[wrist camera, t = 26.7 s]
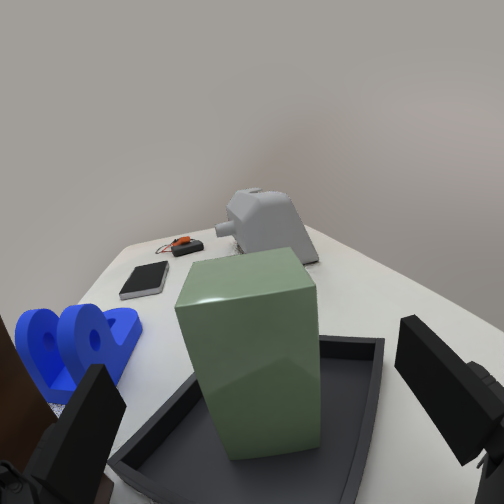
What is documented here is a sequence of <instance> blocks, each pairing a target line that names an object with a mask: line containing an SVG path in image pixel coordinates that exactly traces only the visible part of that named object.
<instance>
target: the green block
mask: <svg viewBox="0 0 504 504" xmlns="http://www.w3.org/2000/svg"><path fill="white" fill-rule="evenodd" d="M174 308H175V312H176V315H177V319H178V322H179V325H180V329H181V332H182V335H183V338H184V341H185V344H186V348H187V351H188V354H189V357H190V360H191V363H192V366H193V369H194V371H195V374H196V377H197V380H198V383H199V386H200V388H201V391H202V394H203V397H204V399H205V402H206V405H207V407H208V410H209V412H210V415H211V417H212V420H213V422H214V425H215V427H216V430H217V432H218V435H219V437H220V440H221V442H222V444H223V447H224V449H225V451H226V454H227V456H228V458H229V460H241V459H251V458H259V457H267V456H274V455H281V454H287V453H293V452H298V451H303V450H308V449H313V448H318V447H320V426H321V389H320V347H319V324H318V306H317V290H316V285H315V283H314V281H313V280H312V278H311V277H310V275H309V274H308V272H307V271H306V269H305V268H304V266H303V265H302V263H301V262H300V260H299V259H298V257H297V256H296V254H295V253H294V251H293V250H292V248H291V247H285V248H279V249H272V250H266V251H260V252H254V253H248V254H241V255H235V256H229V257H223V258H216V259H210V260H204V261H198V262H193V264H192V266H191V269H190V271H189V273H188V276H187V278H186V280H185V283H184V285H183V287H182V290H181V292H180V295H179V297H178V299H177V302H176V304H175V307H174Z"/></svg>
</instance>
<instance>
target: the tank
mask: <svg viewBox="0 0 504 504" xmlns="http://www.w3.org/2000/svg"><path fill="white" fill-rule="evenodd" d="M258 191H262V189H260V188H251V189H245V190H239V191H236V193H235V194H234V196H233V197H232V199H231V200H230V202H229V203H228V205H227V206H226V211H227V216H228V222H225V223H221V224H216V225H215V229H216V234H217V238H218V237H224V236H230V235H232V236H233V237H234V238H235V240H236V241H237V243H238V244H239V246H240V247H241V249H242V250H243V252H244V253H245V254H248V253H254V252H260V251H266V250H272V249H279V248H285V247H291V248H292V250H293V251H294V253H295V254H296V256H297V257H298V259H299V260H300V262H301V263H302V264H306V263H310V262H314V261H319V257H318V254H317V252H316V250H315V248H314V246H313V244H312V241H311V239H310V237H309V235H308V233H307V231H306V229H305V227H304V225H303V223H302V221H301V219H300V217H299V215H298V213H297V211H296V209H295V207H294V205H293V203H292V201H291V199H290V198H289V196H288V195H287V194H285V193H280V192H275V191H272V192H263V193H258Z"/></svg>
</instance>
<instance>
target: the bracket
mask: <svg viewBox="0 0 504 504" xmlns="http://www.w3.org/2000/svg"><path fill="white" fill-rule="evenodd" d="M141 332H142V325H141V322H140V319H139V317H138V314H137V312H136V311H135V310H134V309H131V308H116V309H111V310H108V311H105V312H102V311H101V310H100V309H99V308H98V307H97V306H96V305H94V304H81V305H73V306H69V307H67V308H66V309H65V310H64V311H63V312H62V314H61V316H60V318H59V317H58V316H57V315H56V314H55V313H54V312H53V311H51V310H49V309H35V310H28V311H26V312H24V313H23V314H22V315H21V316H20V318H19V320H18V322H17V325H16V329H15V345H16V350H17V352H18V354H19V356H20V358H21V360H22V362H23V364H24V365H25V367H26V369H27V371H28V372H29V374H30V376H31V378H32V379H33V381H34V383H35V384H36V386H37V388H38V389H39V391H40V392H41V394H42V395H43V397H44V399H45V400H46V402H49V403H56V404H64V405H67V403H68V401H69V399H70V398H71V396H72V394H73V393H74V391H75V389H76V388H77V386H78V384H79V383H80V381H81V379H82V378H83V376H84V374H85V373H86V371H87V369H88V368H89V366H90V365H91V364H105V366H106V368H107V370H108V372H109V374H110V376H111V378H112V380H113V382H114V384H115V386H116V385H117V383H118V381H119V379H120V377H121V374H122V372H123V370H124V368H125V366H126V364H127V362H128V359H129V357H130V355H131V353H132V351H133V349H134V347H135V345H136V343H137V341H138V339H139V337H140V335H141Z"/></svg>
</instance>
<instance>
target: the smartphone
mask: <svg viewBox="0 0 504 504" xmlns="http://www.w3.org/2000/svg"><path fill="white" fill-rule="evenodd" d="M168 267H169V263H168V261H162V262H158V263H153V264H148V265H143V266H138V267H135V268H134V269H133V271H132V273H131V274H130V276H129V278H128V279H127V281H126V283H125V284H124V286H123V288H122V289H121V291H120V293H119V296H120V299H121V300H124V299H129V298H135V297H140V296H146V295H151V294H156V293H160V292H161V291H162V288H163V284H164V281H165V277H166V274H167V271H168Z"/></svg>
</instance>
